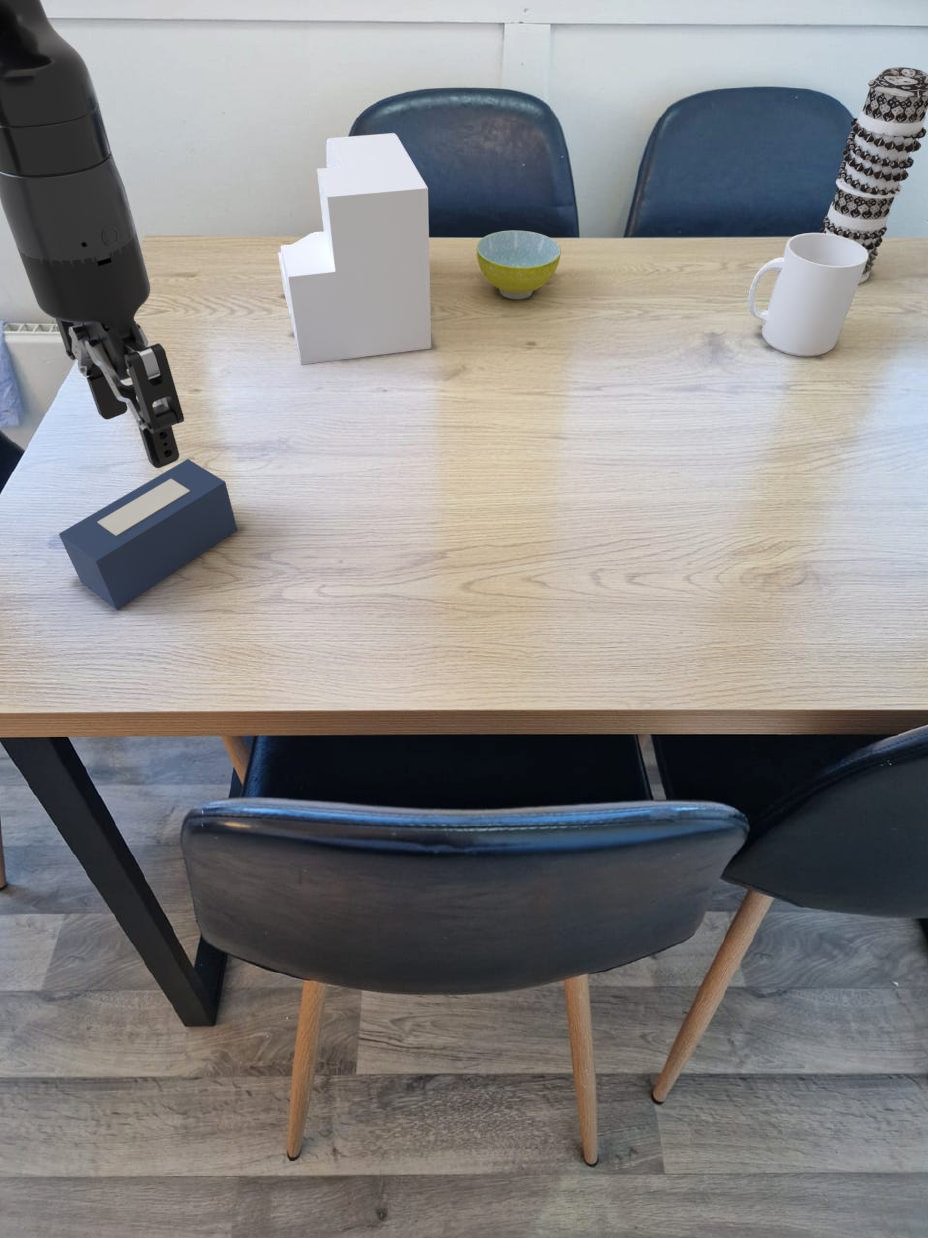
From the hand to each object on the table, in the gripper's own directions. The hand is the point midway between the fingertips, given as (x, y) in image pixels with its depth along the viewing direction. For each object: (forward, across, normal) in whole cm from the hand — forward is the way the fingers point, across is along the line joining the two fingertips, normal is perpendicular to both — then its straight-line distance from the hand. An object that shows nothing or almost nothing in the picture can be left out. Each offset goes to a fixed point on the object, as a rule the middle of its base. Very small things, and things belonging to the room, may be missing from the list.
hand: (139, 437), depth 67 cm
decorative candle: (+14, +7, +103) cm, 104 cm away
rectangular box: (+15, -3, 0) cm, 15 cm away
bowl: (+14, -19, +63) cm, 67 cm away
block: (+15, -30, +42) cm, 54 cm away
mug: (+14, +13, +80) cm, 83 cm away
